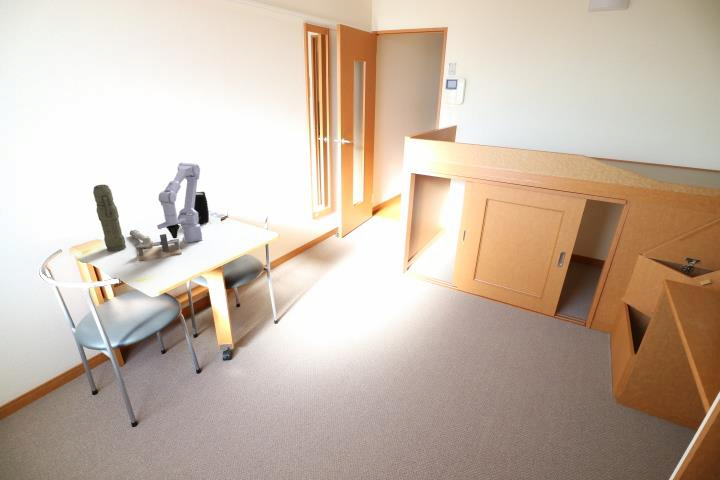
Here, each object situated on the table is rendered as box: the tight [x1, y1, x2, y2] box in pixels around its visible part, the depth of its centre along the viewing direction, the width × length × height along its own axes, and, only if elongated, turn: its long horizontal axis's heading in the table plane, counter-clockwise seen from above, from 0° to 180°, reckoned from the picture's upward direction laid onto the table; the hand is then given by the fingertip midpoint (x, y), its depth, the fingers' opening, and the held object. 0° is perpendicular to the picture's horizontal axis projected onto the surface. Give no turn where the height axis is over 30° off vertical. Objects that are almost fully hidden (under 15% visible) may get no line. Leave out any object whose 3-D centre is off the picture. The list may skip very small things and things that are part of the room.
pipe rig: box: [135, 238, 183, 262], centre depth 193 cm, size 20×12×7 cm, turn 120°
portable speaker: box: [194, 191, 210, 224], centre depth 234 cm, size 9×9×20 cm
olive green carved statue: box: [92, 184, 127, 253], centre depth 190 cm, size 9×12×35 cm
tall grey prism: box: [159, 233, 169, 252], centre depth 193 cm, size 3×7×7 cm, turn 30°
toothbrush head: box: [129, 229, 154, 249], centre depth 205 cm, size 5×7×25 cm
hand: (174, 237), depth 195 cm, fingers closed
